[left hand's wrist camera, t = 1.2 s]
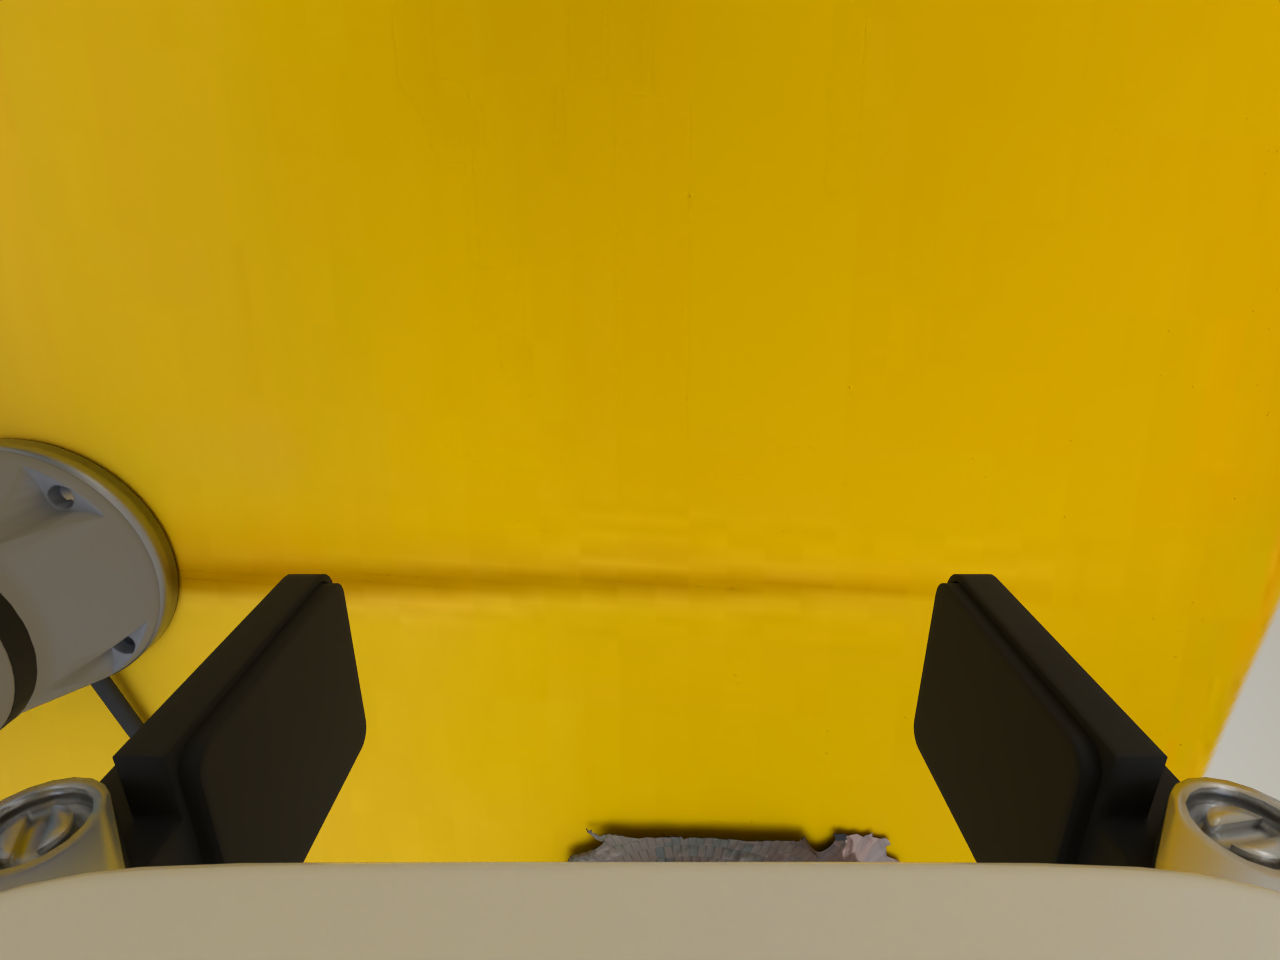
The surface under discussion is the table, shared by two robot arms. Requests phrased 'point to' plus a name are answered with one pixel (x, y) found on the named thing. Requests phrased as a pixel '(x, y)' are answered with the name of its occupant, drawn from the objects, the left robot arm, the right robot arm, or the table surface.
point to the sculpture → (733, 850)
